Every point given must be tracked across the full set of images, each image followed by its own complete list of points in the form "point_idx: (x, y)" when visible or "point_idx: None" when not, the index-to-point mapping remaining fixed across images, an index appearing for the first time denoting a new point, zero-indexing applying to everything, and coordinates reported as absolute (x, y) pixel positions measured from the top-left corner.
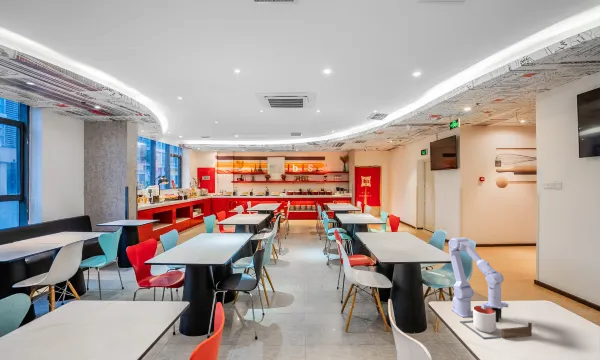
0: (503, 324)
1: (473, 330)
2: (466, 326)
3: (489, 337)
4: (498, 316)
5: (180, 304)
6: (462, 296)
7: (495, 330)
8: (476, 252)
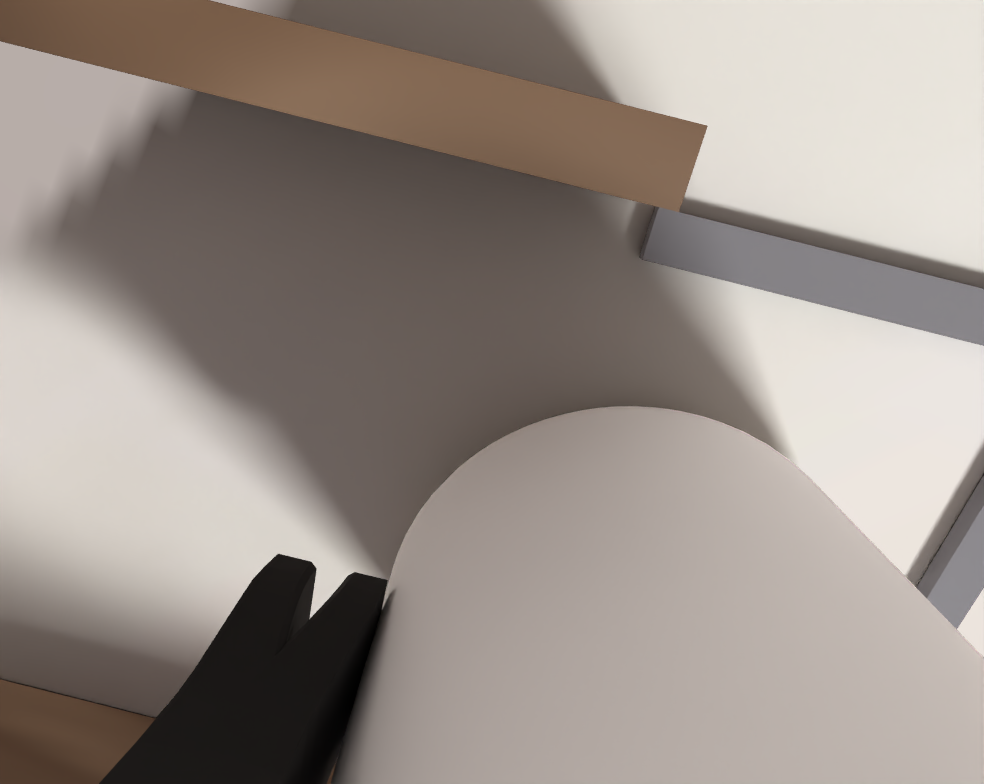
0: (54, 532)
1: None
2: None
3: (966, 304)
4: (206, 690)
5: None
6: None
7: (555, 416)
8: None
